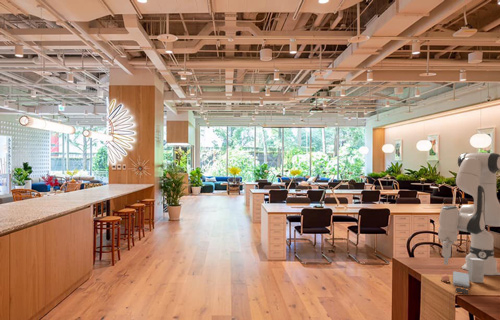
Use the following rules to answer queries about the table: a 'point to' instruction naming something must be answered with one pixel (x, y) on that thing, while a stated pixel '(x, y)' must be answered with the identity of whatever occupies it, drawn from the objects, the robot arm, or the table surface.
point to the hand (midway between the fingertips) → (445, 262)
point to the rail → (462, 290)
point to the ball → (445, 277)
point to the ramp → (460, 279)
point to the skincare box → (476, 270)
